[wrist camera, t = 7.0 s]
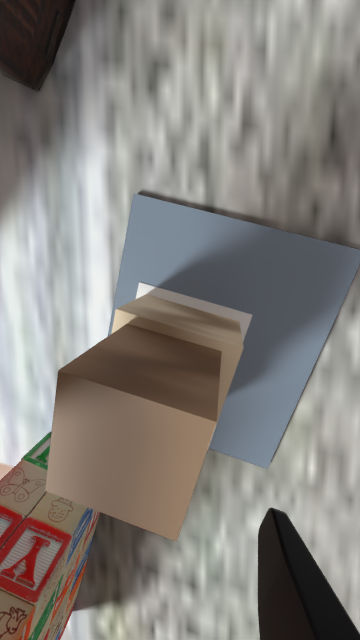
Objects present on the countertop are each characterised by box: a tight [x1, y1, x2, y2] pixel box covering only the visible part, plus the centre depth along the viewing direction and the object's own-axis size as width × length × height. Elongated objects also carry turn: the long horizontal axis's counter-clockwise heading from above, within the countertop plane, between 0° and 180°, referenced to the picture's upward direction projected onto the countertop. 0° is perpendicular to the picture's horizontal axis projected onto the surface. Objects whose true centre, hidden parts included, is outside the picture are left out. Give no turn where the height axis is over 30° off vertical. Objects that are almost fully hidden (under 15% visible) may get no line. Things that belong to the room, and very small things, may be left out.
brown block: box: [45, 324, 222, 542], centre depth 10 cm, size 4×4×5 cm
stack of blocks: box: [0, 433, 100, 640], centre depth 18 cm, size 21×6×12 cm, turn 163°
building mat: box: [108, 194, 360, 469], centre depth 16 cm, size 13×15×1 cm
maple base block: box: [111, 294, 244, 453], centre depth 14 cm, size 6×6×4 cm
